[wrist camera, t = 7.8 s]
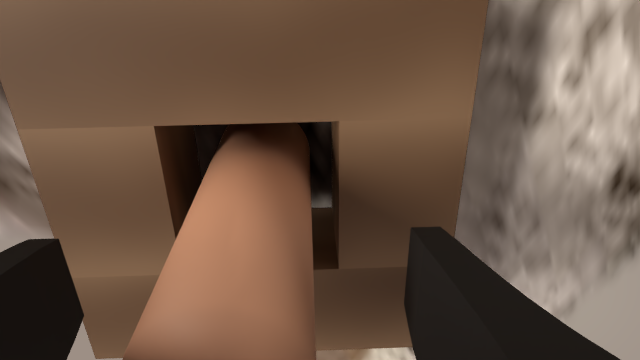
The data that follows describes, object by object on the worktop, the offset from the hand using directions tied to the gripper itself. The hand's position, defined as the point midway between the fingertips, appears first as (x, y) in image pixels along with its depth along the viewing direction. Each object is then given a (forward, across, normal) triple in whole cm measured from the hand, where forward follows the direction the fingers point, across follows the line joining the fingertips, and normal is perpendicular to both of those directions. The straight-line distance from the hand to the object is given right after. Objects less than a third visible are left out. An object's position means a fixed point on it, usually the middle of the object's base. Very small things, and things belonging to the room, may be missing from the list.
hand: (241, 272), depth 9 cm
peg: (+6, 0, 0) cm, 6 cm away
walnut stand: (+6, 0, 0) cm, 6 cm away
